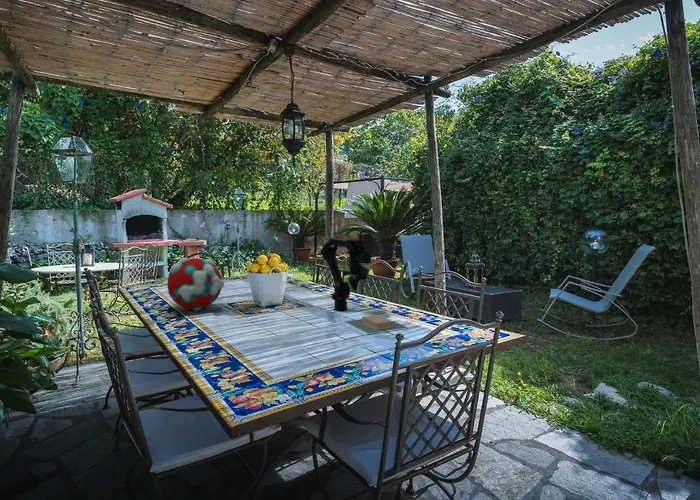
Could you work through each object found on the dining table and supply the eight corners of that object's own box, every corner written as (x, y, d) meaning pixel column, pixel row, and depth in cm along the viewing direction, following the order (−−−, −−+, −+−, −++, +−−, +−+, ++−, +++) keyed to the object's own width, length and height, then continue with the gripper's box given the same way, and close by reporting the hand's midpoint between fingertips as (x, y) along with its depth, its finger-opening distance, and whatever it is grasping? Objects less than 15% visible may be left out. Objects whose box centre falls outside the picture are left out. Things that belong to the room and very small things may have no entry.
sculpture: (167, 306, 246) (165, 256, 244) (220, 301, 259) (219, 254, 257) (169, 318, 218) (167, 261, 215) (228, 312, 230) (227, 258, 228)
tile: (362, 316, 205) (376, 323, 193) (377, 315, 210) (392, 321, 197) (362, 322, 206) (376, 329, 193) (377, 320, 210) (392, 327, 197)
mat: (344, 322, 209) (344, 321, 209) (381, 318, 219) (381, 316, 219) (368, 335, 188) (368, 333, 187) (408, 329, 198) (408, 327, 198)
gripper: (376, 263, 221) (375, 292, 222) (359, 260, 237) (359, 286, 239) (357, 264, 216) (357, 293, 217) (342, 260, 232) (342, 288, 234)
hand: (354, 290), depth 227 cm, fingers closed
